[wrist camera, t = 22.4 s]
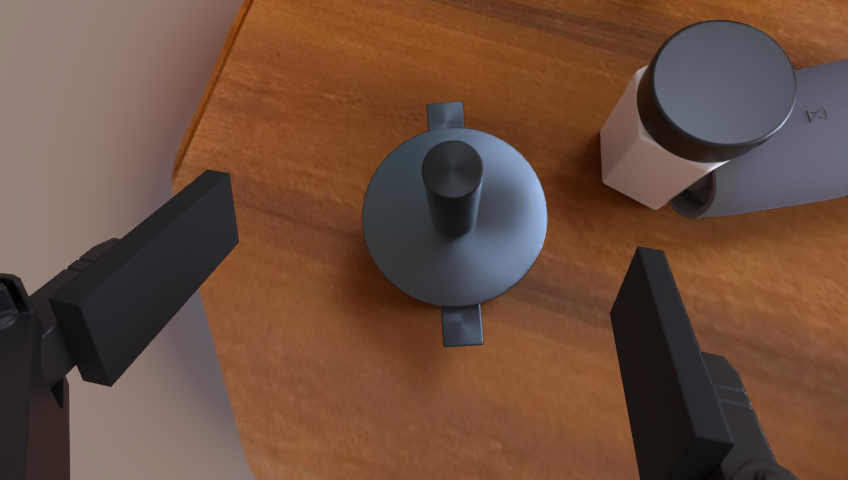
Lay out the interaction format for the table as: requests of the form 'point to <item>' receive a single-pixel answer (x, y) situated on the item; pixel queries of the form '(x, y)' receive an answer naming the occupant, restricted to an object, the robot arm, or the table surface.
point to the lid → (454, 217)
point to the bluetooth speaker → (785, 156)
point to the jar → (696, 109)
